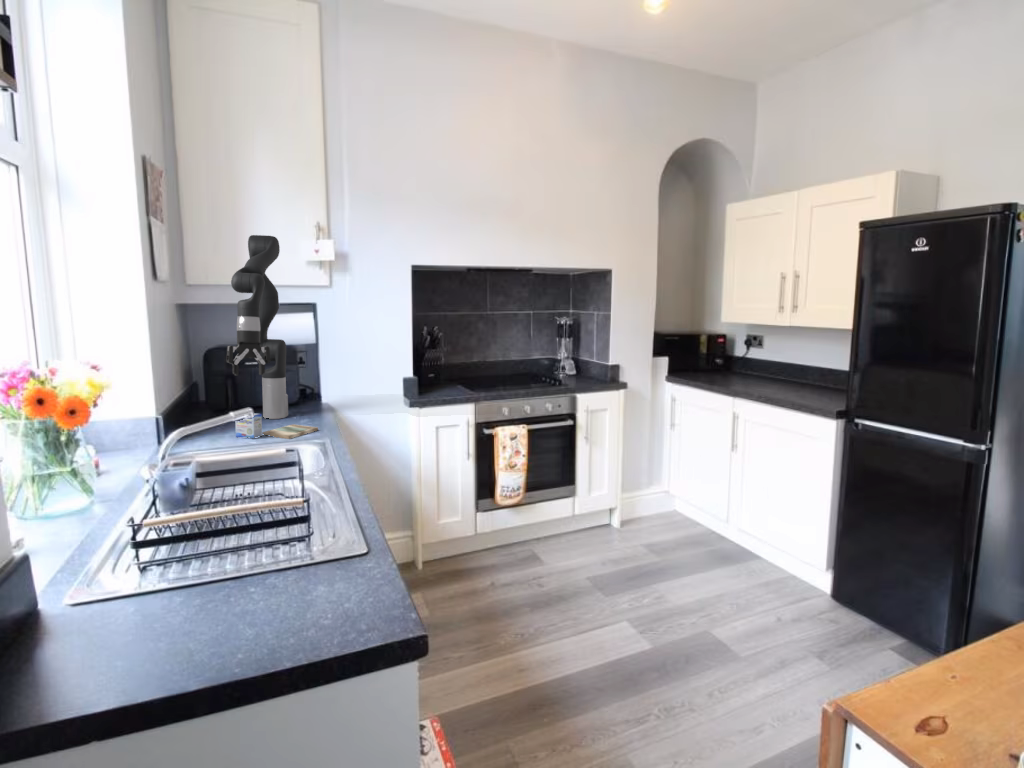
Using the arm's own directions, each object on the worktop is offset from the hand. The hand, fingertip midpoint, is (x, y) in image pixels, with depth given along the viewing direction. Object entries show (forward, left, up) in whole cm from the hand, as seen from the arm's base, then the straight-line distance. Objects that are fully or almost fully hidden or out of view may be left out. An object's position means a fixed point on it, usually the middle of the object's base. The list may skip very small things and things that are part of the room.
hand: (248, 375), depth 198 cm
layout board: (-12, +8, -23) cm, 27 cm away
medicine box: (0, -1, -23) cm, 23 cm away
